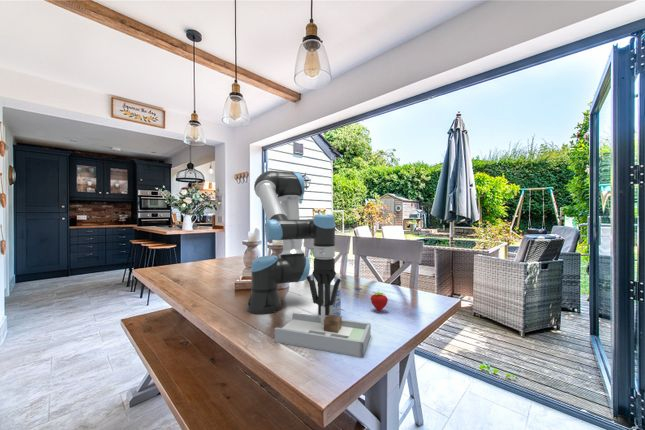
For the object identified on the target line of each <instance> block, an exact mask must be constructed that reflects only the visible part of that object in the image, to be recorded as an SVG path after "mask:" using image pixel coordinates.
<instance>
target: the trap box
mask: <svg viewBox="0 0 645 430" xmlns="http://www.w3.org/2000/svg"><path fill="white" fill-rule="evenodd" d="M371 326H372V325H371V323H370V322H364V321H356V320H347V319H342V324H341V329H340V330H339V332H338V333H334V332H327V331H324V325H321V317H320V316H318V315H311V314H303V313H297V312H296V313H295V312H292V314H291V319H290V320H289V321H288V322H287V323H286V324H285V325H283V327H275V328H274V343H279V344H286V345H290V346H297V347H303V348H307V349H313V350H314V349H315V350H319V351H324V352H331V353H336V354H342V355H348V356H351V357H359V358H364V355H365V353H366V351H367V350H366V349H367V347H368V344H369V341H370V338H371V332H372V331H371Z"/></svg>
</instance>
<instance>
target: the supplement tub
mask: <svg viewBox="0 0 645 430" xmlns="http://www.w3.org/2000/svg"><path fill="white" fill-rule="evenodd" d="M334 280H335V279H333V280H332V282H331V285H330V300H331V296H332V292H333V288H334V284H335V282H334ZM341 292H342V286H341V282H340V284H339V287H338V291H337V296H336V300H335V303H334V304H333V305H330V313H329V315H336V316H342V315H341V312H342V311H341V309H342V307H341V305H342V303H341V301H342V298H341V297H342V296H341V295H342V293H341ZM323 302H324V303H323V304H325V287H324V285H323ZM317 314H318V315H317V316H320V317H321V315H320V314H319V313H318V312H317Z"/></svg>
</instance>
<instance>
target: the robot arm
mask: <svg viewBox="0 0 645 430" xmlns="http://www.w3.org/2000/svg"><path fill="white" fill-rule="evenodd" d="M305 184H306V183H305V179H304V176H303V175H302V174H301V173H299V172H295V171H280V170H267V171H264V172H262V173H260V175H259V176H258V177H257V178H255V181H254V185H253V186H254V187H253V190H254V193H255V195H256V196H257V197H258V198H259V200H260V203H261V205H262V208H263V211H264V213H265V217H266V219H267V220H266V222H265V224H264V233H265V237H266V239H267V240H268V241H282V248H283V249H282V252H281V253H280V257H278V255H273V254H272V255H263V256H259V257H256V258H254V259H253V260H252V262H251V267H250V268H251V270H250V272H251V278H250V279H251V282H250V283H251V285H250V286H251V288H250V289H251V290H250V291H251V292H250V296H249V299H248V301H247V305H246V309H247V311H248V312H249V313H251V314H255V315H266V314H273V313H276V312H278V311H279V310H281V309H282V300H281V297H280V295H279V292H278V285H280V284H281V285H282V284H290V283H291V284H292V283H299V282H304V281H306V280H307V282H308V284H309V289H310V293H311V298H312V303H313V304H316V305H317V314H318V313H319V314H320V315H321V325H324V319H325V318H326V317H327V315H329V313H330V305H333V304H334V303H335V300H336V296H337V291H338V287H339V284H340V283H341V282H342V281H343V278H342V277H340V276H338V275H337V273H336V271H335V268H336V266H335V263H336V262H335V261H336V259H335V258H334V257H335V256H336V254H335V253H336V251H335V250H336V249H335V247H336V246H335V243H336V241H335V240H336V237H335V236H336V223H335V220H336V219H335V216H334V214H315V215H314V216H313V218H307V219H300V210H299V209H300V205H299V201H300V200H301V199H302V196H303V195H305V188H306V186H305ZM302 240H313V257H314V258H313V271H312V274H310V270H311V267H310V266H311V264H310V263H311V262H310V258H309V257H307V256H306V254H305V251H304V250H303V249H302ZM309 274H310V275H309ZM332 280H334V282H335V284H334V288H333V292H332V296H331V300H330V285H331V282H332ZM316 282H317V287H316ZM323 285H324V287H325V304H323V303H324V302H323Z"/></svg>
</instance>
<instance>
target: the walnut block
mask: <svg viewBox="0 0 645 430" xmlns="http://www.w3.org/2000/svg"><path fill="white" fill-rule="evenodd" d="M342 320H343V319H342V315H341V316H336V315H327V317H326V318H325V319H324V331H327V332H334V333H338V332H339V330H340V329H341V324H342Z"/></svg>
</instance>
